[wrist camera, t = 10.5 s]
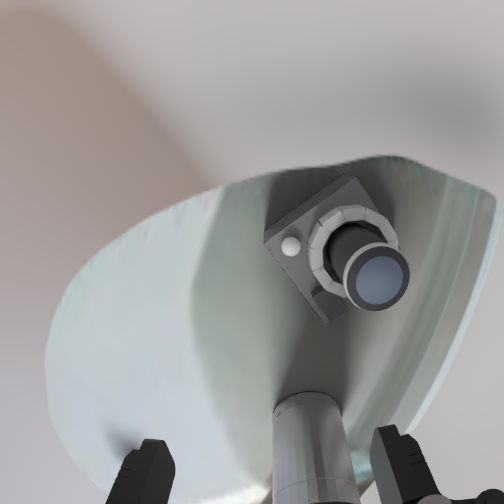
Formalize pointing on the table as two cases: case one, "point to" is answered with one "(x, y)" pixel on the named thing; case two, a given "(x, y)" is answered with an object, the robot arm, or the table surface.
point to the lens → (368, 267)
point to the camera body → (324, 241)
